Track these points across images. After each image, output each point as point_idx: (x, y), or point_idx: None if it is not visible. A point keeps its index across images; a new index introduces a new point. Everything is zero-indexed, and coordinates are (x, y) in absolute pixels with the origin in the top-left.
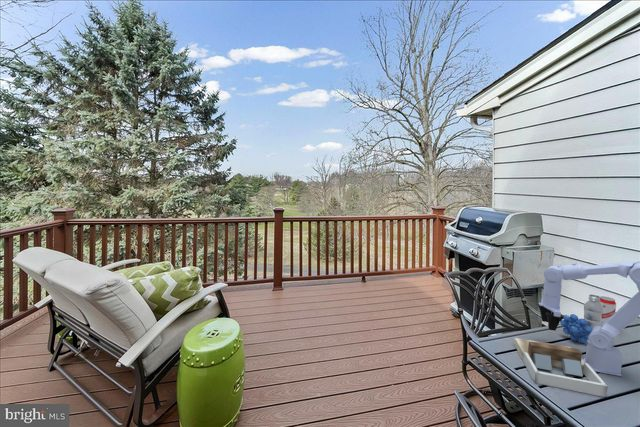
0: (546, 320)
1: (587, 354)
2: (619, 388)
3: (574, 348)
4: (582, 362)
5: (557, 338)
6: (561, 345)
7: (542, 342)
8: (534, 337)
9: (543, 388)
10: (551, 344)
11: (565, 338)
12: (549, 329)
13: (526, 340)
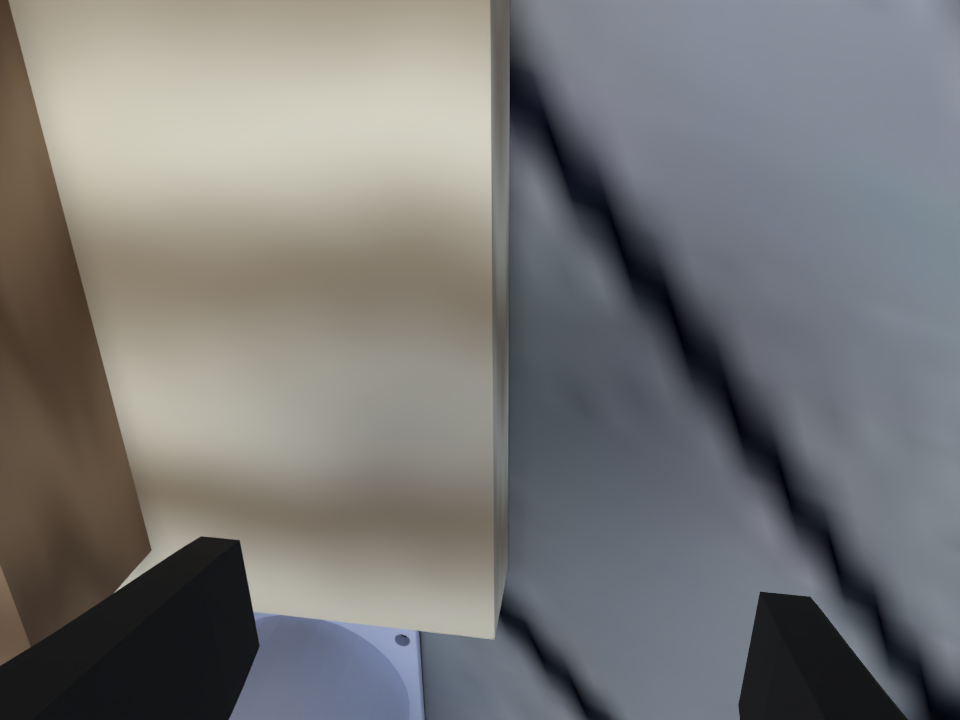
0: (756, 712)
1: (245, 712)
2: None
3: (27, 637)
4: (127, 580)
5: (931, 610)
6: (492, 547)
7: (484, 308)
8: (910, 295)
9: None
10: (468, 425)
11: (949, 700)
12: (199, 540)
13: (454, 16)
